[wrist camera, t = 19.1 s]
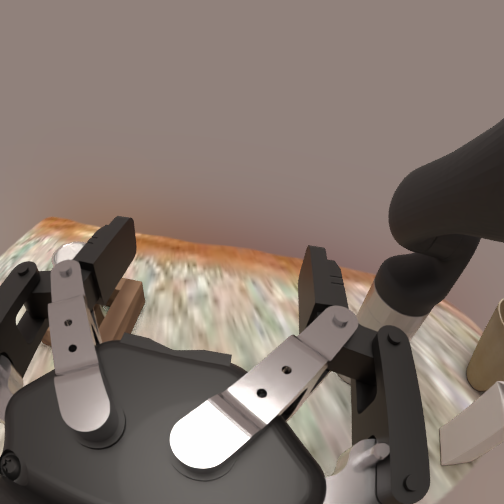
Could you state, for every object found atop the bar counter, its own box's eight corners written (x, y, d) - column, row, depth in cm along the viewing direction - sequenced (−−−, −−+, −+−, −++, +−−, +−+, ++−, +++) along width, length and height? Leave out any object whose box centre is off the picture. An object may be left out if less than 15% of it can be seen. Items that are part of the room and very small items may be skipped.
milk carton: (438, 428, 35) (515, 362, 23) (466, 428, 34) (540, 364, 23) (440, 465, 29) (527, 408, 18) (469, 462, 28) (552, 405, 17)
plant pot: (441, 364, 46) (487, 307, 36) (475, 342, 50) (513, 291, 41) (478, 420, 34) (536, 369, 25) (508, 388, 39) (554, 340, 30)
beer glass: (70, 335, 42) (42, 266, 33) (83, 306, 48) (63, 238, 39) (105, 342, 43) (81, 273, 34) (116, 312, 48) (100, 242, 39)
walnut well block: (145, 302, 51) (141, 281, 48) (115, 368, 39) (107, 350, 36) (79, 286, 51) (72, 267, 48) (42, 343, 39) (32, 324, 36)
